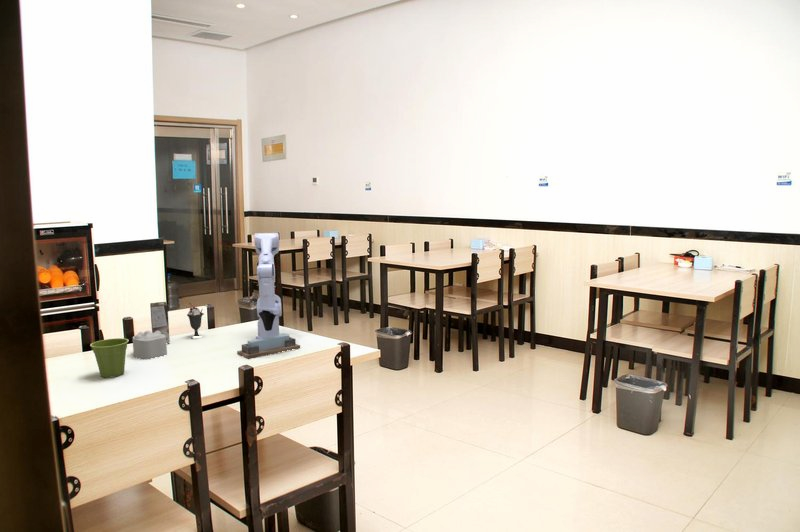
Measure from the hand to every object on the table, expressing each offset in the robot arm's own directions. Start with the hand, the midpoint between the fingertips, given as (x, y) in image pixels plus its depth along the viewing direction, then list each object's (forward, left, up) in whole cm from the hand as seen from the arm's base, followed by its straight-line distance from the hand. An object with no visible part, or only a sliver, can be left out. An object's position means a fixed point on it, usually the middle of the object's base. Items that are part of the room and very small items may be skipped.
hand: (268, 330), depth 232 cm
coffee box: (-43, -26, -9) cm, 51 cm away
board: (0, 0, -8) cm, 8 cm away
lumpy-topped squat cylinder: (-27, -36, -9) cm, 46 cm away
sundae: (-41, -12, -8) cm, 44 cm away
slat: (0, 0, -7) cm, 7 cm away
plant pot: (-9, -54, -9) cm, 55 cm away
